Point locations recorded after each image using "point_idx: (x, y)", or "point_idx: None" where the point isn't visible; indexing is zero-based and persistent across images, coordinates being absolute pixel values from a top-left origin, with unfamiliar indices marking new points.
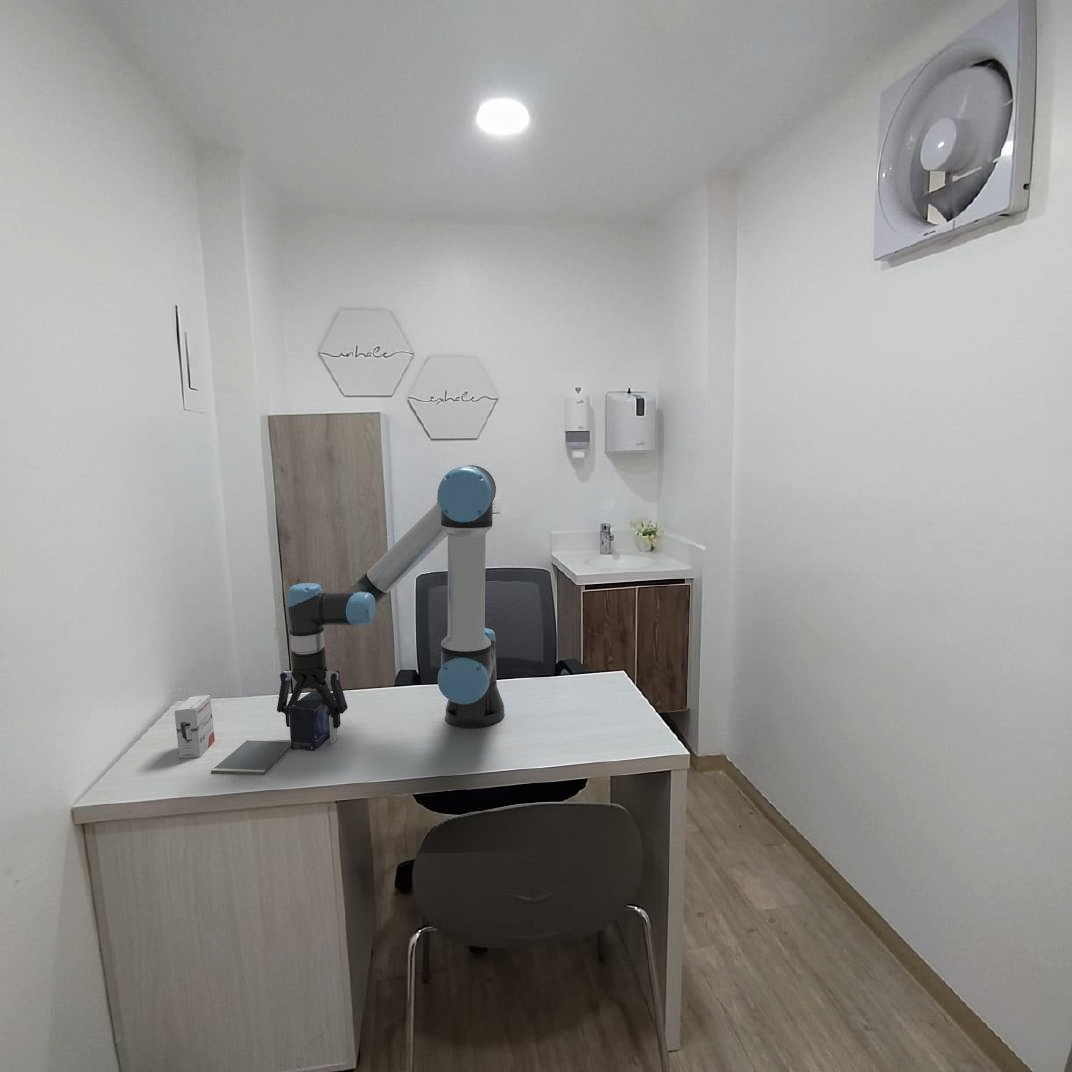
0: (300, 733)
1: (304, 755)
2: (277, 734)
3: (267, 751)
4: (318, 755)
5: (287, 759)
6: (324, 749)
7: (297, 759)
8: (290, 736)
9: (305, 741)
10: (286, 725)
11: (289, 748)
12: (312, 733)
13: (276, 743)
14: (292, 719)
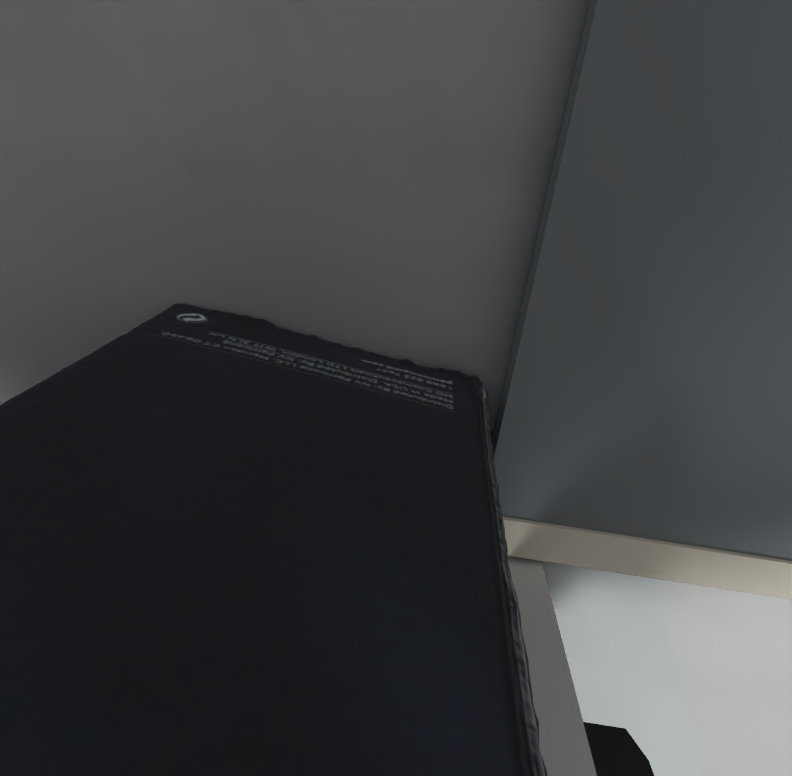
0: (291, 438)
1: (256, 196)
2: (728, 725)
3: (786, 293)
4: (70, 179)
5: (451, 91)
6: (71, 338)
7: (308, 78)
8: (547, 594)
9: (244, 363)
10: (641, 751)
11: (506, 387)
12: (38, 391)
13: (700, 501)
14: (439, 710)
